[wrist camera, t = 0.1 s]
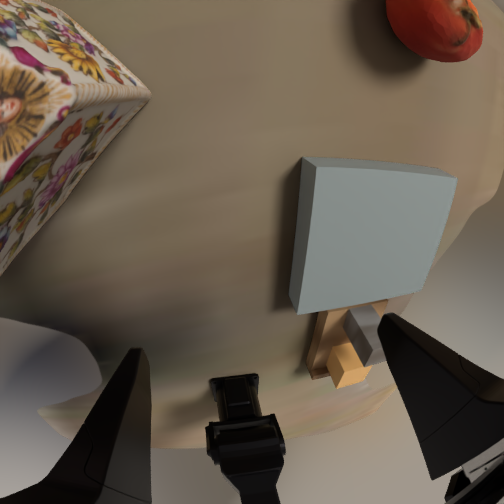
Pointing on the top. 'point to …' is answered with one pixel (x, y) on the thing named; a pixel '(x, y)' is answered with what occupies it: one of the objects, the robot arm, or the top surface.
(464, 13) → the tomato
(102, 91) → the decorative jar
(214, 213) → the top surface
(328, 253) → the pale grey flat slab
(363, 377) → the orange cube
